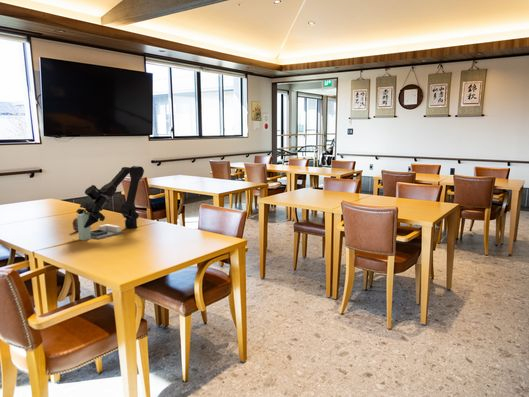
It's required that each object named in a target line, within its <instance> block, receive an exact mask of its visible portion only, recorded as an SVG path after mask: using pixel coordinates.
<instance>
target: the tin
mask: <svg viewBox="0 0 529 397" xmlns="http://www.w3.org/2000/svg"><path fill="white" fill-rule="evenodd" d="M91 226H92V225H90V227H91ZM72 229H73V231H75V232H78V219H77V217H76V218H73V220H72Z"/></svg>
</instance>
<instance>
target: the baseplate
mask: <svg viewBox="0 0 529 397" xmlns="http://www.w3.org/2000/svg"><path fill="white" fill-rule="evenodd" d="M90 231H91V239H95V240H102V239H105V238H109V237H112V236H113V237H114V236H116V235H120V234H124V233H125V231H124V230H122V227H121V226H120V225H115V224H111V223H110V224H109V223H106V224H101V225H98V227H97V229H95V230H90Z"/></svg>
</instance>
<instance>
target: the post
mask: <svg viewBox="0 0 529 397" xmlns="http://www.w3.org/2000/svg"><path fill="white" fill-rule="evenodd" d="M89 215H90V214H85V213H84V214H77V216H76V218H77V219H78V231H77V233H78V234H77V235H78V240H81V241H87V240H90V239H92V238H91V231H92V230H91V226H88V227H87V228H84V226H85V224H86V222H87V221H88V219H89Z"/></svg>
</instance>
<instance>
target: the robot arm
mask: <svg viewBox="0 0 529 397" xmlns="http://www.w3.org/2000/svg"><path fill="white" fill-rule="evenodd" d="M144 173H145V169H144V168H143V167H142V166H140V165H138V166H137V165H132V166H129V167H128V166H123V167H121V170H120V171H118V173H117V174H116V175H115V176H114V177H113V178H112V179H111V180H110V182H108V183H106V184H104V185H103V186H101V188H98V187H97V186H96V185H95V184H92V185H91V186H88V187H87V188H85V190H84V194H85V195H86V196H87V197H88V198H90V199H91V200H92V201H93V202H92V201H88V202H85V201H84V202H83V201H80V205H79V208H78V209H76V211H75V212H76V213H77V215H79V214H84V213H85V214H90V215H89V219H88V221H87V222H86V224H85V226H84V228H87V227H88V226H90V225H91V226H92V225H94V224H96V223H97V222H104V221H105V219H106V216H105V215H104V214H103V213H101V212H102V211H103V208H104V206H105V205H106V204H110V203H111V202H110V198H112V197H114V195H115V194H116V192H117V189H118V187H119V185H120V184H122V182H123V181H124V180H125V179H126V178H127V176H128V175H129V177H130V181H129V182H130V183H129V187H128V192H127V196H126V201H125V202H124V203H121V208H120V212H121V215H122V217H123V218H124V227H125V228H126V229H127V230H129V229H138V227H139V226H138V222H137V221H138V219H139V218H140V214H139V213H138V212H137V211H136V209H137V207H136V204H135V202H136V197H137V192H138V187H139V182H140V180H141V179H142V178H143V176H144ZM91 226H90V227H91Z"/></svg>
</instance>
